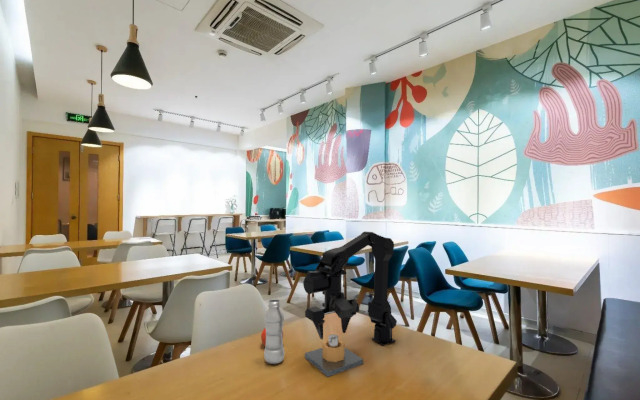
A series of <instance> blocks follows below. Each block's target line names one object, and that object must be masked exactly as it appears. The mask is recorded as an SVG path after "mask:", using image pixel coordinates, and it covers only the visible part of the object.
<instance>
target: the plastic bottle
mask: <svg viewBox="0 0 640 400" xmlns="http://www.w3.org/2000/svg"><path fill="white" fill-rule="evenodd" d="M280 307H281V300H280V299H277V298H275V299H270V300H269V301H268V309H267V310H266V312H265V313H264V317H263V319H264V326H265V328H266V345H264V346H265V348H264V353H263V356H264V360H265V361H266V363H267V364H271V365H277V364H279V363H280V364H281V362H283V361H284V359H285V358H284V357H285V349H284V348H285V347H284V342H283V340H284V339H282V331H283V330H284V328H283V327H284V321H285V315H284V312H283V311H282V309H281V308H280ZM265 328H264V329H265ZM283 332H284V331H283Z"/></svg>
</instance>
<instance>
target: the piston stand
mask: <svg viewBox="0 0 640 400" xmlns="http://www.w3.org/2000/svg"><path fill="white" fill-rule="evenodd" d="M328 340H329V347H333V348H336V347H338V340H339V336H338V334H329V335H328ZM304 358H305V359H306V360H307V361H308V362H310V363H311V364H312V365H313V366H314V367H315V368H317V370H319V371H320V372H321V373H322V374H324V375H325V376H326V377H327V378H329V377H332V376H334V375H336V374H340V373H342V372H345V371H348V370H350V369H353V368H357V367H359V366H362V365H363V364H364V359H363V358H362V357H360V356H359V355H357V354H356V353H354V352H352V351H351V350H349V349H348V348H346V347H345V356H344V359H343V360H340V361H337V362H332V361H327V360H325V359H324V358H323V357H322V347H319V348H317V349H314V350H311V351H308V352H305V353H304Z"/></svg>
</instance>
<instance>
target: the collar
mask: <svg viewBox="0 0 640 400" xmlns="http://www.w3.org/2000/svg"><path fill="white" fill-rule="evenodd" d="M345 346H346V345H345V342H344V341H341V339H338V347H336V348H333V347H329V339H327V340H324V341H323V342H322V346H321V348H322V357H323V358H324V359H325V360H327V361H332V362H337V361H340V360H343V359H344V356H345V348H346V347H345Z"/></svg>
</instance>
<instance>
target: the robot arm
mask: <svg viewBox="0 0 640 400" xmlns="http://www.w3.org/2000/svg"><path fill="white" fill-rule="evenodd" d="M368 246H369V247H371V253H372V255H373V258H374V261H375V262H374V265H375V266H374V287H373V288H374V291H373V298H372V299H371V301H368V302H367V312H366V313H368V317H369V319H370V322H371V323H372V324H374V329H373V337H372V338H371V340H372V341H373V342H376V343H378V344H380V345H382V346H386V345H390V344H392V343H395V342H396V339H394V338H393V329H394V328H395V327H396V326H397V322H398V321H397V319H396V318H395V317H394V315H393V314H392V307H391V303H390V302H389V300H388V287H389V286H388V283H389V281H388V279H389V261H390V259H391V258H392V257H393V254H394V249H395V243H394V241H393V239H392V238H389V237H384V236H383V235H380V234H377V233H375V232H373V231H363V232H362V233H360V234H359V235H357V236H356V237H355V238H353V239H352V240H350V241H348V242H346V243H345V244H343V245H341V246H339V247H334V248H331V249H328V250H325V251H324V252H323V253H322V255H321V256H322V257H321V259H320V261H319V262H318V264H317V266H316V267H315V271H311V270H310V271H307V272H306V274H307V275H306V276H305V277H304V279H303V281H302V284H303V285H302V286H303V289H304V291H305V293H306V294H307V295H312V294H316V293H321V292H322V293H321V294H322V295H324V302H323V303H322V304H321V305H322V307H324V308H320V307H318V306H311V307H307V308H306V309H305V311H304V317H305V318H306V319H308V320H310V321H311V322H312V323H313V325H314V327H315V329H316V332H317V334H318V337H319V339H320V340H323V339H324V324H325V322H326V320H325V315H330V314H333V313H335V314H336V315H337V317H338V318H339V319H340V322H341V323H340V324H341V330H342V334H346V332H347V329H348V326H349V324H350V321H351V319H352V318H353V317H354V316H355V315H357V313H359V312H360V305H359V303H358V302H357V300H356V299H355V298H351V299H346V298H345V292H342V276H343V275H346V274H347V272H346V271H345V270H344V269H343V268H344V267H345V266H346V265H347V264H348V262H349V259H350V258H351V257H353V256H354V255H355V254H357V253H359V252H360V251H362V250H363V249H364V248H366V247H368Z"/></svg>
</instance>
